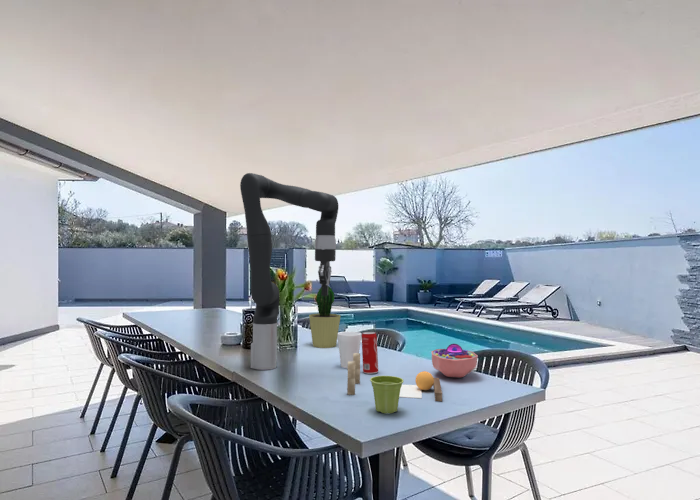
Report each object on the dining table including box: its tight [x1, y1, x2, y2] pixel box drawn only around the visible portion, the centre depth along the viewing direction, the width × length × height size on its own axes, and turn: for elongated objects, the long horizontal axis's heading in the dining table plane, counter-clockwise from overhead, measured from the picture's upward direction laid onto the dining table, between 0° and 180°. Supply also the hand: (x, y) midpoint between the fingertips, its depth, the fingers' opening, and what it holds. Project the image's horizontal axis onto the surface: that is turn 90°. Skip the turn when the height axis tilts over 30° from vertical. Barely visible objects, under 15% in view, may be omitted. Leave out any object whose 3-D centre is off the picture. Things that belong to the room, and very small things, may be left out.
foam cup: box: [337, 331, 362, 369], centre depth 182 cm, size 10×9×13 cm
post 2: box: [353, 352, 361, 385], centre depth 158 cm, size 2×2×10 cm
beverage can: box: [361, 331, 379, 375], centre depth 173 cm, size 6×6×15 cm
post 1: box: [346, 361, 356, 396], centre depth 145 cm, size 2×2×10 cm
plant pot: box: [369, 375, 404, 414], centre depth 130 cm, size 9×9×9 cm
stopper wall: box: [432, 377, 443, 402], centre depth 147 cm, size 2×18×2 cm, turn 172°
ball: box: [415, 370, 435, 391], centre depth 151 cm, size 6×6×6 cm
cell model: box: [430, 343, 479, 379], centre depth 169 cm, size 17×20×11 cm
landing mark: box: [399, 383, 423, 399], centre depth 149 cm, size 14×14×1 cm
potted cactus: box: [308, 284, 341, 349], centre depth 224 cm, size 15×15×30 cm
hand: (324, 295), depth 168 cm, fingers closed
